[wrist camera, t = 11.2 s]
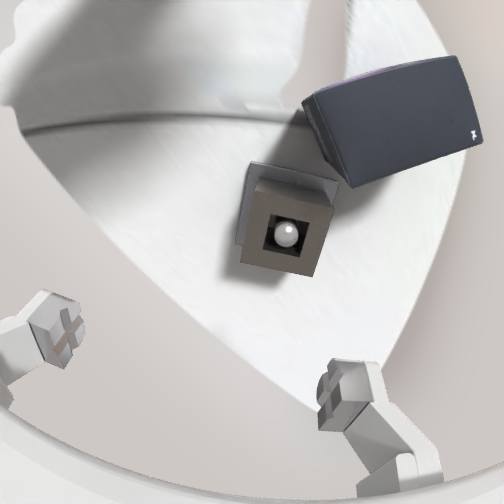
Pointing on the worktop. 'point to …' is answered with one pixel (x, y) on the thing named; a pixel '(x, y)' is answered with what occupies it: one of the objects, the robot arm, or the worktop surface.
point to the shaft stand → (283, 226)
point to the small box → (394, 119)
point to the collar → (291, 206)
